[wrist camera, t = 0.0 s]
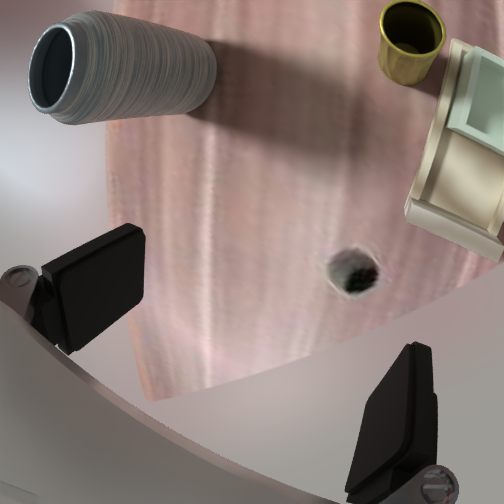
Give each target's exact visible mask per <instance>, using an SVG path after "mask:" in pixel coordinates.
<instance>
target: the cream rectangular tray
mask: <svg viewBox="0 0 504 504" xmlns="http://www.w3.org/2000/svg"><path fill="white" fill-rule="evenodd" d="M473 48H474V47H473V46H471V45H469V44H466V43H464V42H462V41H460V40H457V39H455V38H453V39H452V40H451V45H450V50H449V55H448V60H447V65H446V69H445V74H444V78H443V82H442V87H441V91H440V95H439V99H438V102H437V106H436V110H435V114H434V117H433V121H432V124H431V128H430V131H429V135H428V138H427V141H426V144H425V148H424V151H423V154H422V157H421V160H420V163H419V166H418V169H417V172H416V175H415V178H414V181H413V184H412V187H411V189H410V192H409V195H408V198H407V200H406V203H405V206H404V211H405V216H406V222H408V223H410V224H413V225H415V226H418V227H420V228H422V229H425V230H427V231H429V232H432V233H434V234H436V235H438V236H441V237H443V238H445V239H447V240H450V241H452V242H454V243H456V244H458V245H460V246H463V247H465V248H467V249H469V250H471V251H473V252H475V253H477V254H480V255H482V256H484V257H486V258H488V259H490V260H492V261H494V262H496V263H498V261H499V259H500V257H501V255H502V253H503V251H504V245H503V244H502V243H501V242H500V240H499V239H498V238H497V235H498V232H499V230H500V228H501V226H502V223H503V221H504V156H503V155H501V154H499V153H497V152H495V151H493V150H492V149H490V148H488V147H486V146H484V145H482V144H480V143H478V142H476V141H474V140H472V139H470V138H468V137H466V136H464V135H462V134H460V133H457V132H455V131H453V130H451V129H449V128H446V125H447V122H448V118H449V115H450V111H451V107H452V103H453V99H454V95H455V91H456V87H457V83H458V78H459V74H460V69H461V64H462V59H463V56H465V55H466V54H467V53H468V52H469V51H471V50H472V49H473Z"/></svg>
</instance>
